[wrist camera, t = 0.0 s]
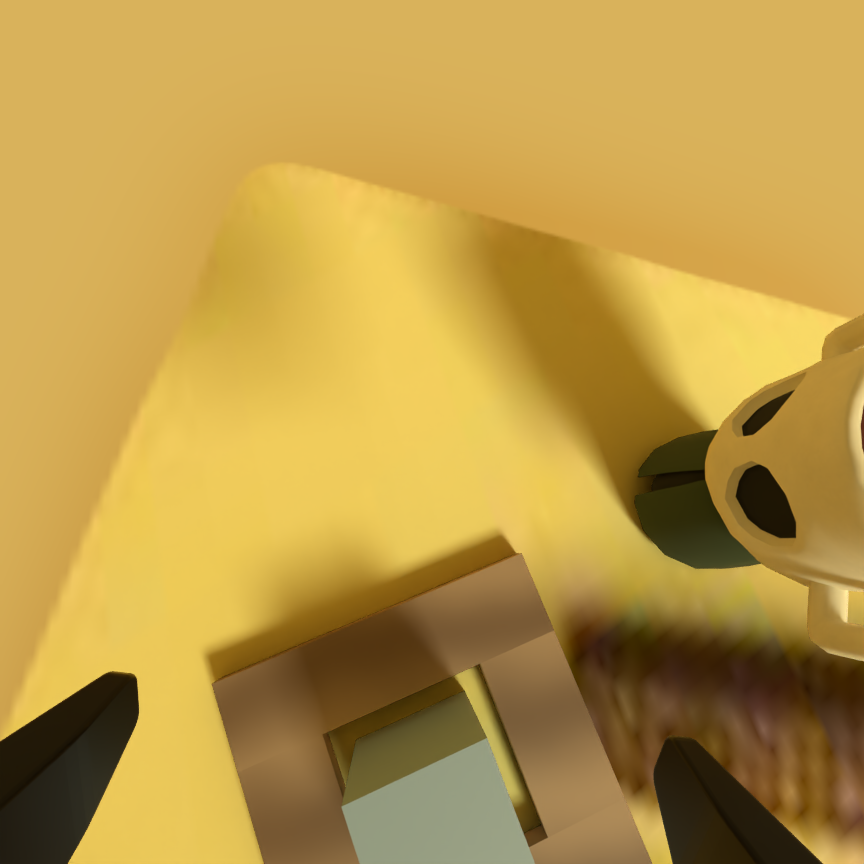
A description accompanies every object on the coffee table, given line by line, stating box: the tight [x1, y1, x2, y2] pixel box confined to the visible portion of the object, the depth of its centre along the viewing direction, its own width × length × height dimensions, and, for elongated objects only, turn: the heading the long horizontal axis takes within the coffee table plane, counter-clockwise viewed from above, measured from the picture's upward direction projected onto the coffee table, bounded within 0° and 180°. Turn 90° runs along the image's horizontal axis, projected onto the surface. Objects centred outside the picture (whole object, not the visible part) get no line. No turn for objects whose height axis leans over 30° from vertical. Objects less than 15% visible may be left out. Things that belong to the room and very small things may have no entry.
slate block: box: [341, 691, 535, 864], centre depth 19 cm, size 5×5×6 cm
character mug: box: [634, 314, 864, 661], centre depth 19 cm, size 11×7×13 cm, turn 167°
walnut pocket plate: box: [212, 553, 652, 864], centre depth 21 cm, size 14×14×1 cm
